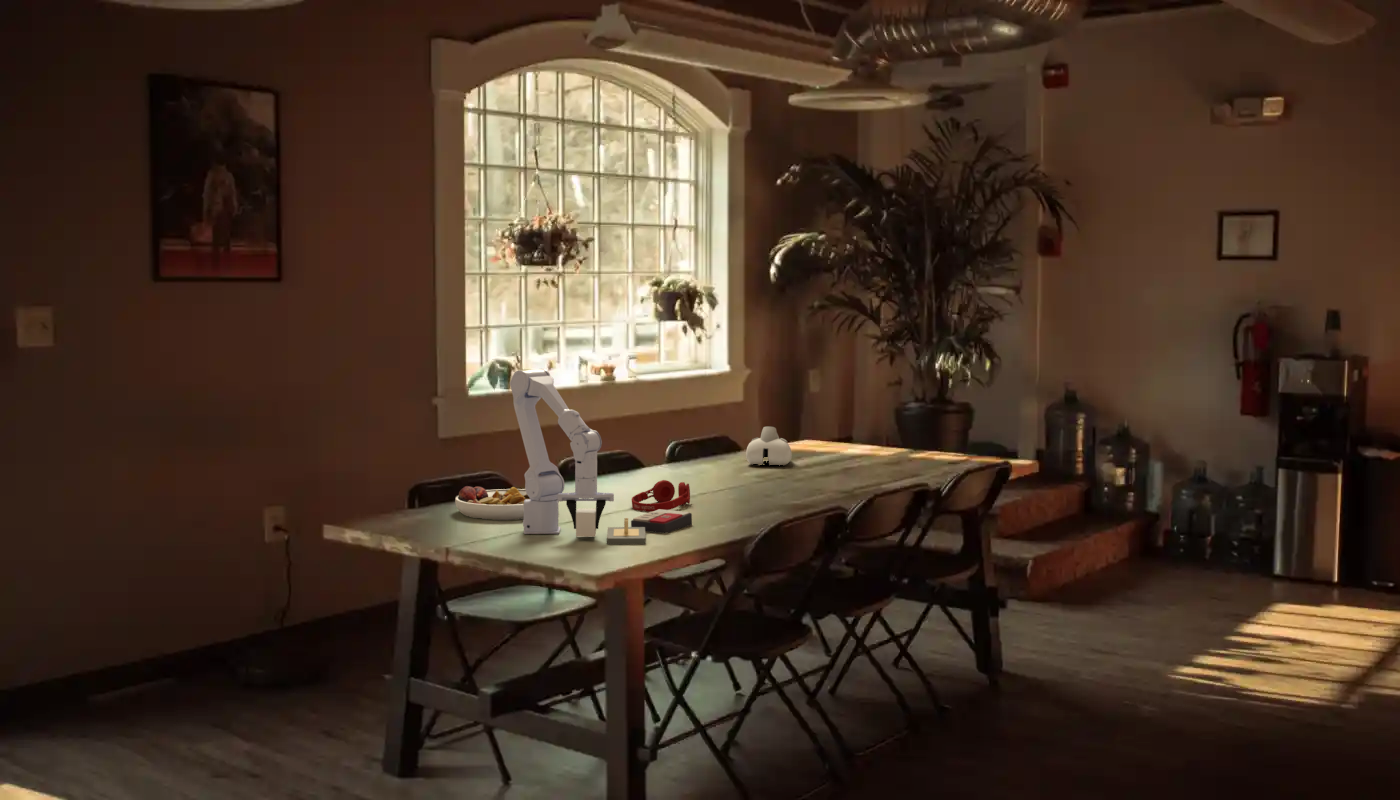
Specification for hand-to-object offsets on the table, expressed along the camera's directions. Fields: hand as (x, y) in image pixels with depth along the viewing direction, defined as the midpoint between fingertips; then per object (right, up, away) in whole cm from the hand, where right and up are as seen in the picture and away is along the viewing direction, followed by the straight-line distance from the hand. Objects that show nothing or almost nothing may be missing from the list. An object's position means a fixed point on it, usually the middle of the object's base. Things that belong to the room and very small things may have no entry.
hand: (586, 528), depth 359 cm
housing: (0, -1, 0) cm, 1 cm away
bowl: (-26, 0, +40) cm, 48 cm away
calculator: (+19, -2, +17) cm, 26 cm away
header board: (+11, -3, +1) cm, 11 cm away
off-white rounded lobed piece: (+56, +10, +148) cm, 159 cm away
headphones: (+18, +1, +51) cm, 55 cm away
